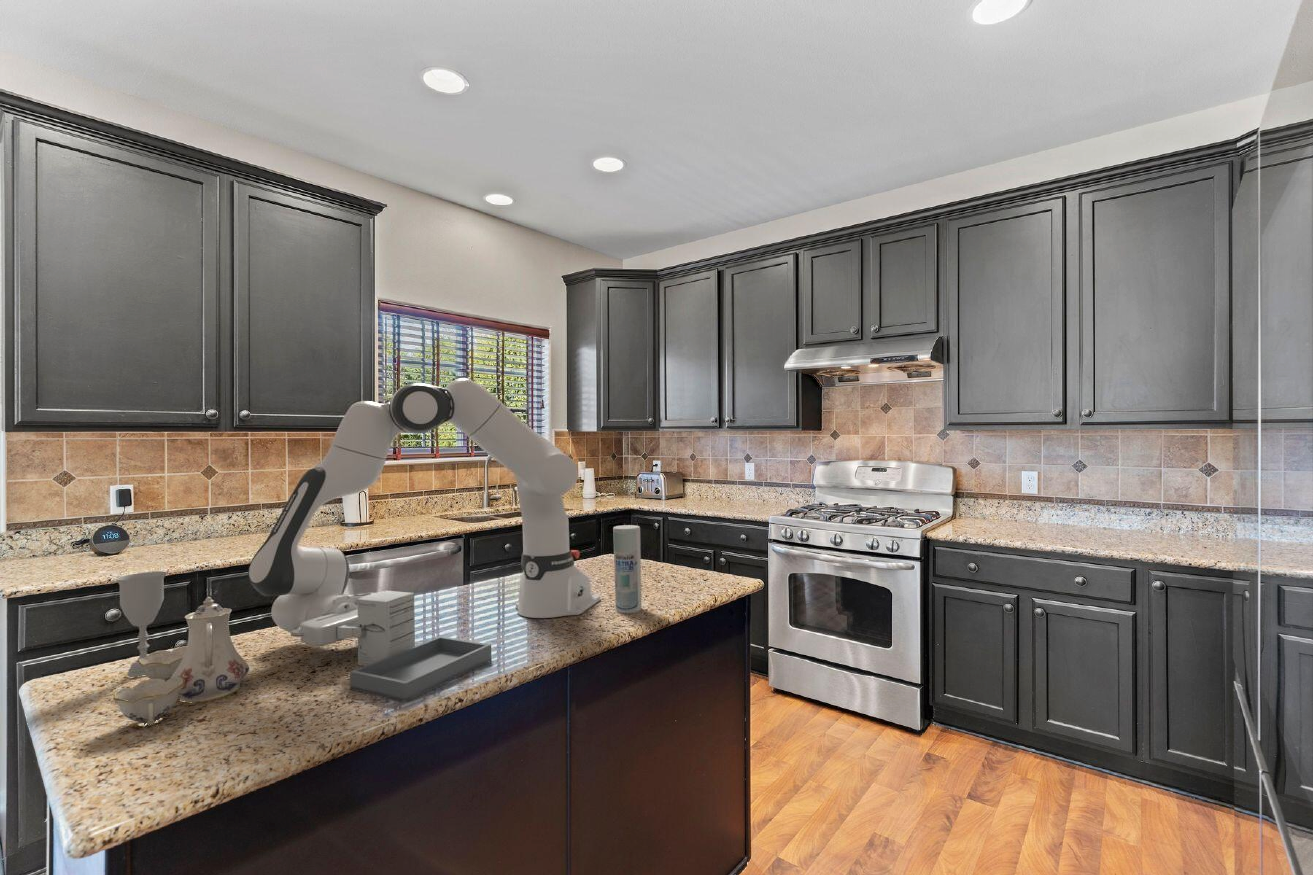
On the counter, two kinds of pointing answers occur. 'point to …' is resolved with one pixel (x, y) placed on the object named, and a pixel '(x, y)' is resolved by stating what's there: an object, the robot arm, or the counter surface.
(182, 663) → the chinaware
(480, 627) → the counter surface
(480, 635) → the counter surface
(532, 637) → the counter surface
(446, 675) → the tray
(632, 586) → the spray can
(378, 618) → the supplement box
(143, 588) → the chalice
